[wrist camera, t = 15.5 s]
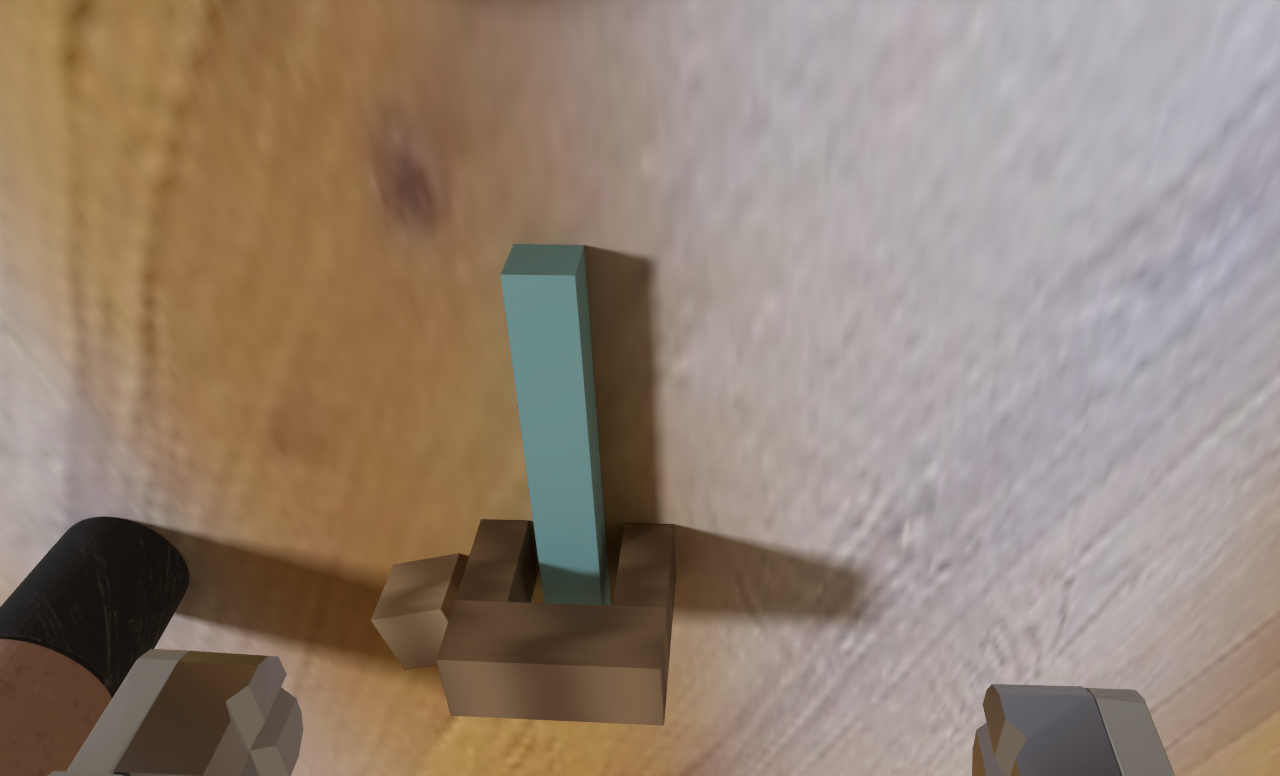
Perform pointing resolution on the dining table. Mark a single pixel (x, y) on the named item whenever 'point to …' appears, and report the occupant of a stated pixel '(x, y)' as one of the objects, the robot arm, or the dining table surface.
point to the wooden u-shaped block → (560, 635)
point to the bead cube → (418, 608)
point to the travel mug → (79, 637)
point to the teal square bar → (558, 417)
